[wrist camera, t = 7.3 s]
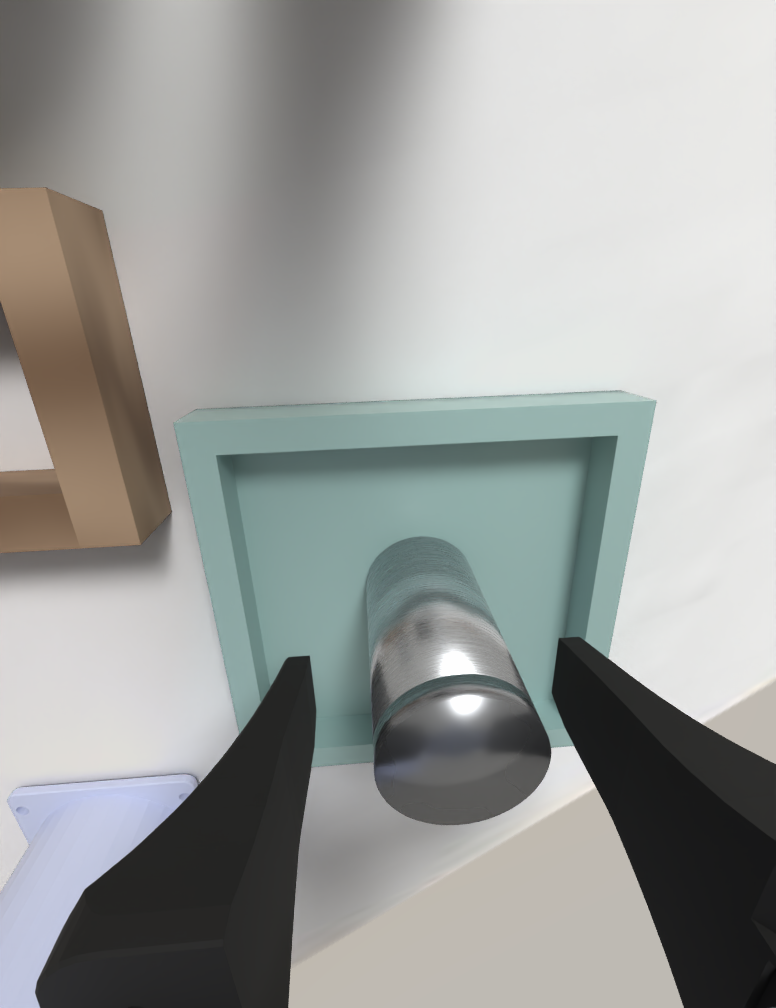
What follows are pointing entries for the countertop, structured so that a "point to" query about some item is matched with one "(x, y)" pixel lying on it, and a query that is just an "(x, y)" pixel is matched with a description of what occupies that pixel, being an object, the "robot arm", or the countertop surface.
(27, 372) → the socket block
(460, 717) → the steel pin
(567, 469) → the tray
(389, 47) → the countertop surface
